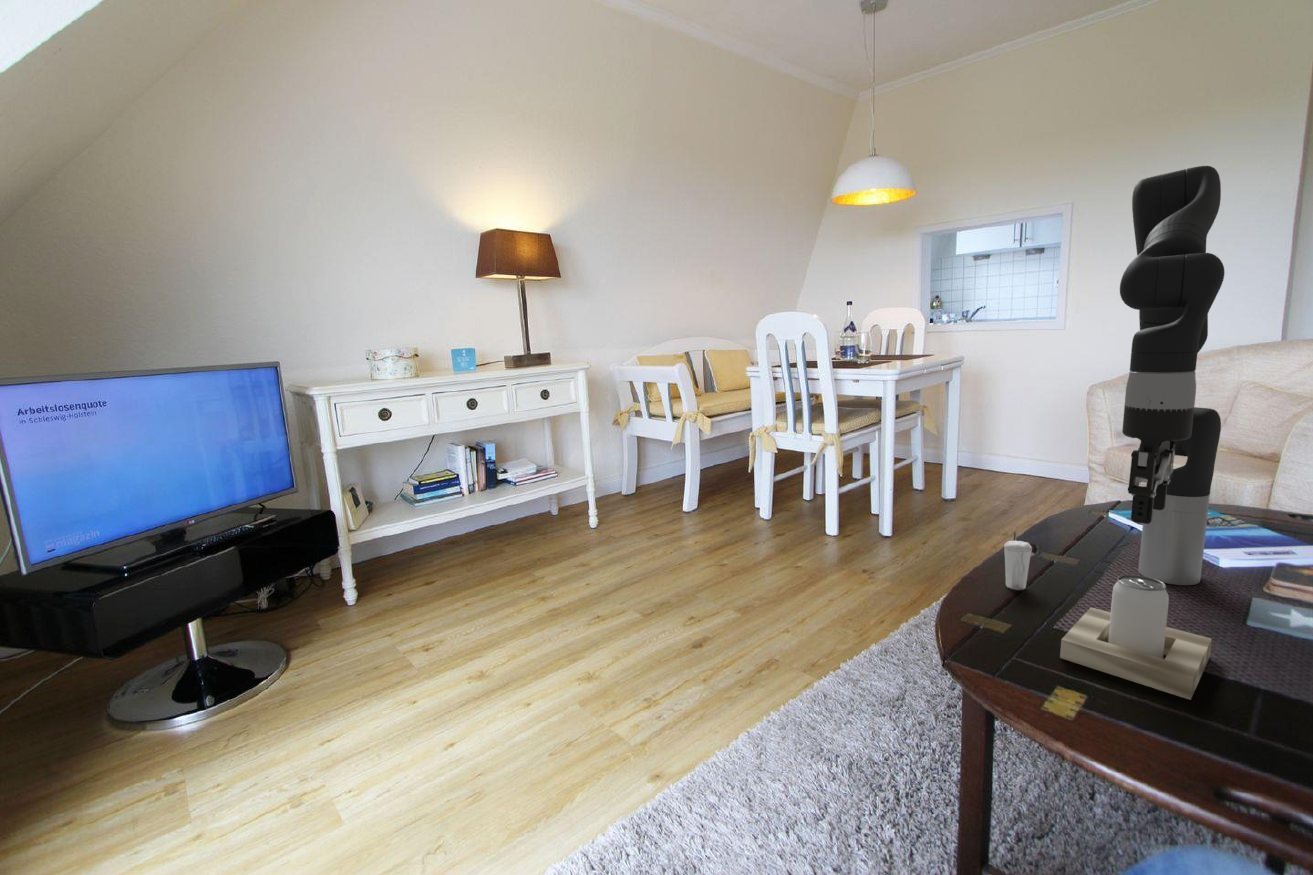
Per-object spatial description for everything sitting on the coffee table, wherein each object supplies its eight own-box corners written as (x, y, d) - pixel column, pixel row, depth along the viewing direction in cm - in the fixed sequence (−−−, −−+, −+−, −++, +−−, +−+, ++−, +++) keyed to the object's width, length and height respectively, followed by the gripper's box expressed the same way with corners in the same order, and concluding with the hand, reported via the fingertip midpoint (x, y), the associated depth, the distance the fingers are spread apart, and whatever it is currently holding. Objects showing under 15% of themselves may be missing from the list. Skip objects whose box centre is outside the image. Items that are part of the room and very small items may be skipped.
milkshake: (1025, 581, 118) (1028, 532, 117) (1032, 592, 113) (1035, 541, 112) (998, 579, 120) (1001, 531, 118) (1004, 590, 115) (1007, 540, 113)
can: (1142, 646, 93) (1149, 573, 91) (1173, 669, 87) (1182, 591, 85) (1097, 646, 94) (1103, 573, 92) (1125, 669, 88) (1132, 591, 86)
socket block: (1089, 624, 101) (1090, 607, 100) (1209, 657, 90) (1211, 638, 89) (1059, 657, 91) (1061, 639, 91) (1190, 699, 80) (1193, 679, 80)
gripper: (1184, 411, 77) (1171, 533, 80) (1203, 399, 86) (1191, 509, 89) (1112, 407, 82) (1102, 521, 85) (1137, 396, 92) (1128, 500, 94)
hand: (1148, 515), depth 87 cm, fingers open, 8 cm apart
